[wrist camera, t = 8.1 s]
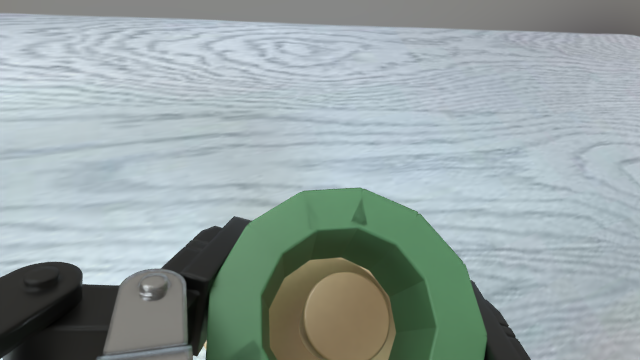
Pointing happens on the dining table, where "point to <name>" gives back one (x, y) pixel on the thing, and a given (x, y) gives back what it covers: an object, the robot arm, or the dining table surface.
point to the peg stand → (331, 314)
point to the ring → (361, 249)
